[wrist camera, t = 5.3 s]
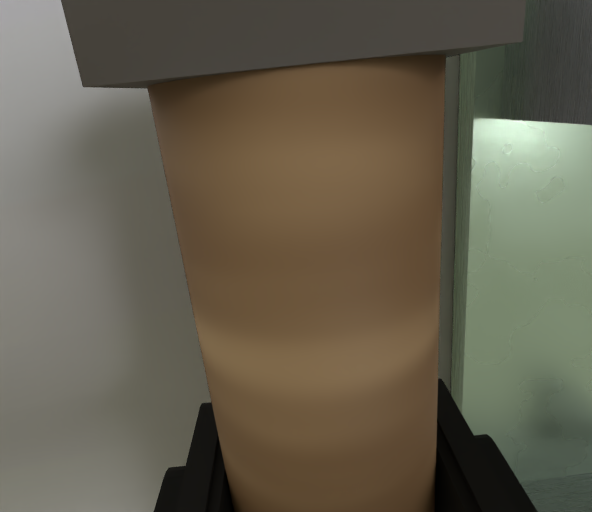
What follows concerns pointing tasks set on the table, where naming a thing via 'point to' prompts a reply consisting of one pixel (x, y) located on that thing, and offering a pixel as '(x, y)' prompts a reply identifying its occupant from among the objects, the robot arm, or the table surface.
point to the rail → (305, 223)
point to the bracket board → (528, 252)
